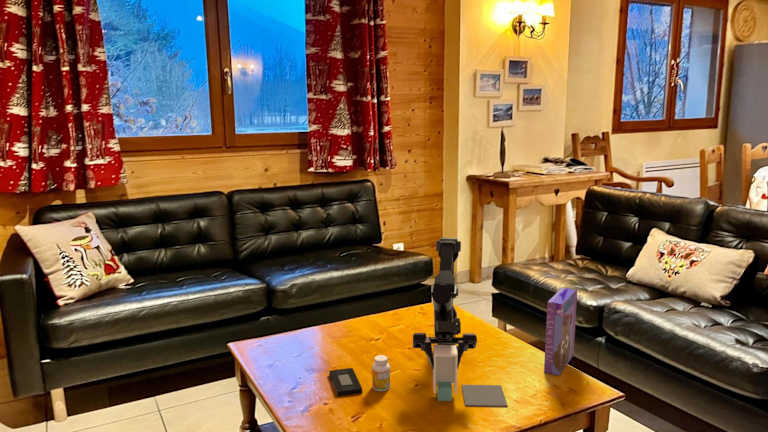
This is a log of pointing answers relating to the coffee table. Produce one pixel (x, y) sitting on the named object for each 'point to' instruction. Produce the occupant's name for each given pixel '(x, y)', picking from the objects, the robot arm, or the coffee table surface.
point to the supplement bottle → (381, 373)
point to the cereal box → (560, 330)
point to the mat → (484, 395)
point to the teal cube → (444, 391)
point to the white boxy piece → (445, 365)
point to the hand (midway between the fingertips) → (445, 369)
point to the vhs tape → (345, 382)
